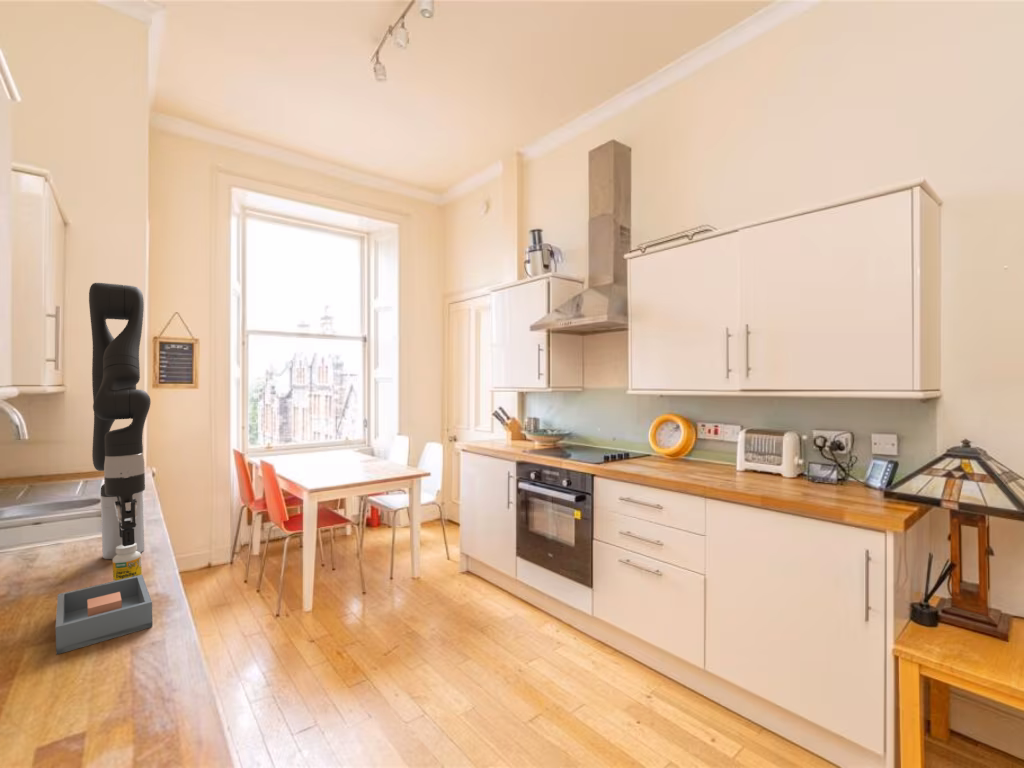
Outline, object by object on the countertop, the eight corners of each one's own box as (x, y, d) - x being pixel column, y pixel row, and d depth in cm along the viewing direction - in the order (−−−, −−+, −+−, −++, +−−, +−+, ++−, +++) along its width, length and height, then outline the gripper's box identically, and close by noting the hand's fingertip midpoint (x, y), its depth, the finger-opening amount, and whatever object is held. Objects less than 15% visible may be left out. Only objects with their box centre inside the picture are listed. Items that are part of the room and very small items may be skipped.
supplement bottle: (142, 578, 120) (141, 540, 119) (141, 586, 115) (139, 546, 115) (114, 583, 117) (113, 544, 116) (111, 592, 112) (110, 551, 112)
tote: (58, 617, 100) (57, 594, 100) (142, 596, 110) (142, 574, 110) (56, 654, 87) (55, 627, 87) (152, 626, 97) (151, 602, 96)
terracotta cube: (88, 634, 92) (87, 608, 92) (88, 624, 96) (87, 599, 96) (122, 625, 95) (121, 600, 95) (120, 615, 99) (119, 591, 99)
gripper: (102, 471, 118) (104, 537, 118) (105, 480, 107) (108, 552, 108) (141, 467, 123) (143, 530, 123) (147, 474, 113) (150, 544, 113)
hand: (126, 540), depth 115 cm, fingers open, 8 cm apart
